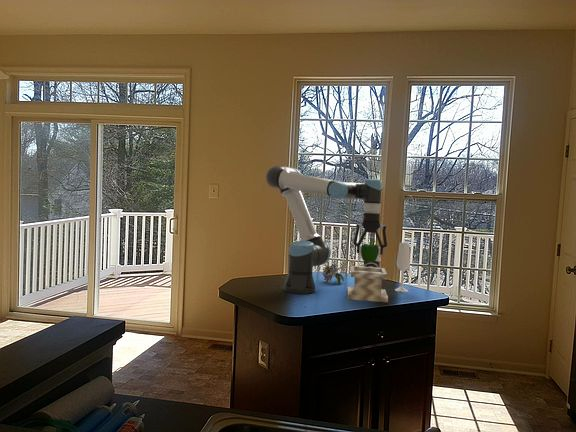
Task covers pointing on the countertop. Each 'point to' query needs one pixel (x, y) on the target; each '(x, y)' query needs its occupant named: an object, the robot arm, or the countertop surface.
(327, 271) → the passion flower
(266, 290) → the countertop surface
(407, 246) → the champagne flute
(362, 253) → the bell pepper
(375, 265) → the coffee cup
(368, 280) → the display stand
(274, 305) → the countertop surface
